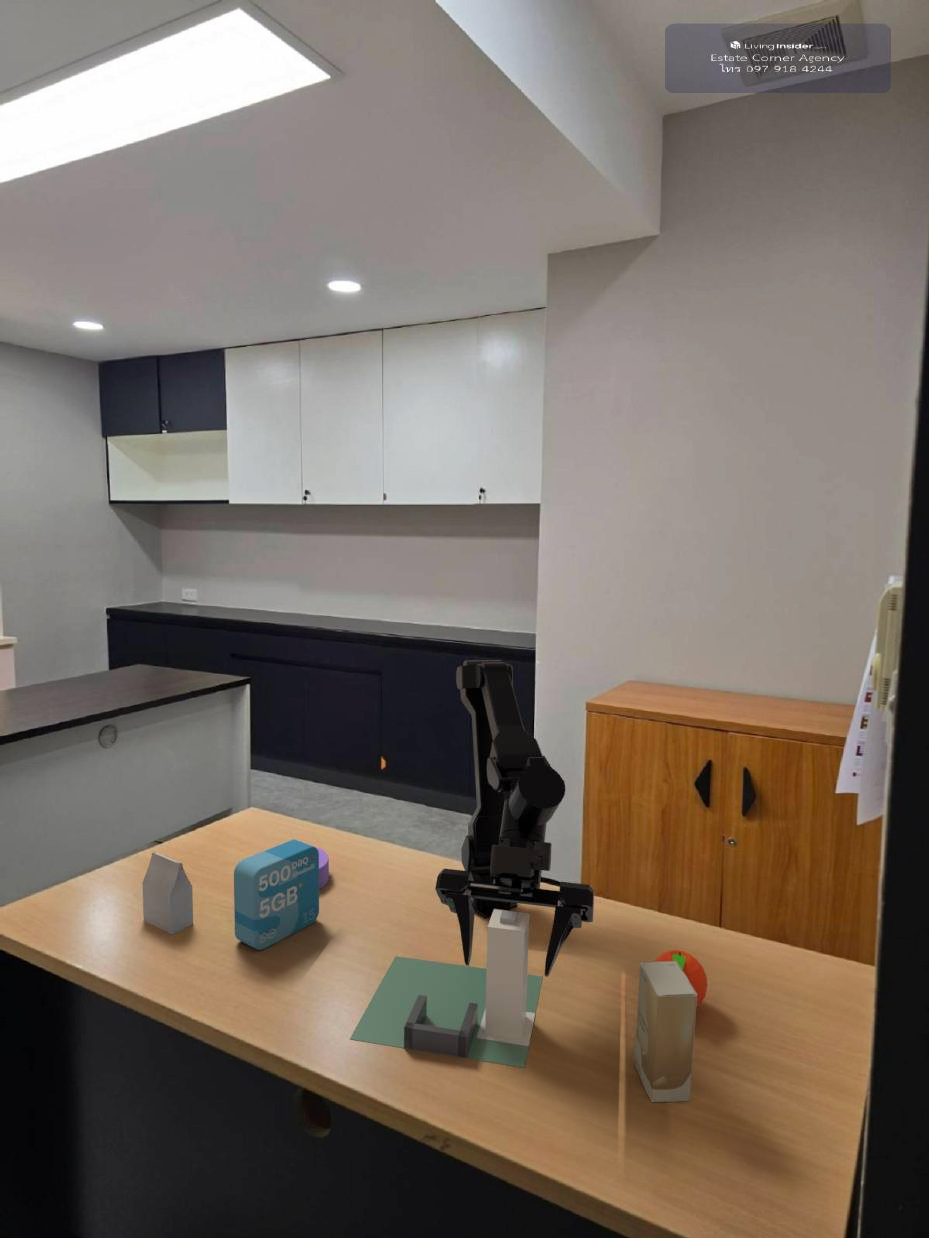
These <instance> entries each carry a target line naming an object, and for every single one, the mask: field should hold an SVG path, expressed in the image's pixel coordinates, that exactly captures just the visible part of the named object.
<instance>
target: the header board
mask: <svg viewBox="0 0 929 1238" xmlns="http://www.w3.org/2000/svg"><path fill="white" fill-rule="evenodd" d="M384 974H385V975H384V976H383V978H382V979H381V982H380V984H379V985H378V987H377V988H376V991H375V992H374V994H373V996H372V997H371V1000H370V1001H369V1003H368V1005H367V1007H366V1008H365V1010H364V1012H363V1014H362V1016H361V1017H360V1019H359V1021H358V1023H357V1025H356V1027H355V1029H354V1031H353V1032H352V1034H351V1035H350V1038H349V1040H350V1041H357V1042H363V1043H370V1044H375V1045H383V1046H387V1047H394V1048H401V1049H406V1050H412V1051H418V1052H425V1053H430V1054H438V1055H441V1056H448V1057H449V1056H450V1057H454V1058H461V1059H466V1060H467V1059H468V1060H472V1061H479V1062H486V1063H492V1064H498V1065H502V1066H503V1065H504V1066H508V1067H517V1068H522V1069H525V1068H526V1063H527V1057H528V1055H529V1054H528V1053H529V1049H530V1042H531V1037H532V1032H533V1027H534V1023H535V1018H536V1014H537V1013H536V1012H537V1006H538V1001H539V996H540V992H541V987H542V983H543V976H542V975H536V974H535V975H534V974H528V973H527V1007H526V1020H525V1025H524V1029H523V1034H522V1039H517V1038H511V1037H504V1036H498V1035H492V1034H485V1018H486V974H487V968H486V967H485V968H484V967H477V966H470V965H469V966H467V965H465V964H464V965H463V964H454V963H448V962H441V961H435V960H434V961H433V960H428V959H427V960H426V959H419V958H418V959H417V958H414V957H413V958H411V957H405V956H398V955H395V956H394V958H393V960H392V962H391V964H390V965H389V967H388V968H387V971H386V972H385V973H384Z"/></svg>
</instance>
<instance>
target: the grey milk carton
mask: <svg viewBox="0 0 929 1238" xmlns="http://www.w3.org/2000/svg"><path fill="white" fill-rule="evenodd" d="M193 894H194V893H193V884H192V882H191V881H190V879H189V878H188V876H187V874H186V871H185V869H184V866H183V863H182V862H180V861H177V860H175V859H173V858H170V857H168V856H167V855H166V856H165V855H163V854H161V853H158V852H156V851H154V852H151V857H150V860H149V863H148V867H147V870H146V872H145V874H144V877H143V881H142V906H143V907H142V909H143V914H142V915H143V922H145V923H148V924H150V925H151V926H153V927H156V928H157V929H160V930H162V931H164V933H165V932H166V933H167V934H168V935H173V934H176V933H178V932H180V931H182V930H184V929H186V928H188V927H190V926H193V925H194V904H193V903H194V902H193V900H194V899H193Z"/></svg>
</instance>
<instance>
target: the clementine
mask: <svg viewBox="0 0 929 1238" xmlns="http://www.w3.org/2000/svg"><path fill="white" fill-rule="evenodd" d="M662 961H677V962H678V964H679V966H680V967H681V969H682V971H683V972H684V974H685V975H686V976H687V978H688V980H689V982H690V983H691V985H692V987H693V988H694V990H695V992H696V993H697V1007H698V1006H700V1004H701V1003H702V1002H703V1001H704V999H705V998H706V995H707V994H706V993H707V990H708V977H707V974H706V971H705V969H704V966H703V965H702V964H701V963H700V962H699V960H698V959H697V958H696V957H694V956H693V955H691V954H690V953H688V952H686V951H684V950H680V949H671V950H668V951H665V952H663V953H661V954H660V955H659V956H658V957H656V958H655V960H654V961H653V962H662Z"/></svg>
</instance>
